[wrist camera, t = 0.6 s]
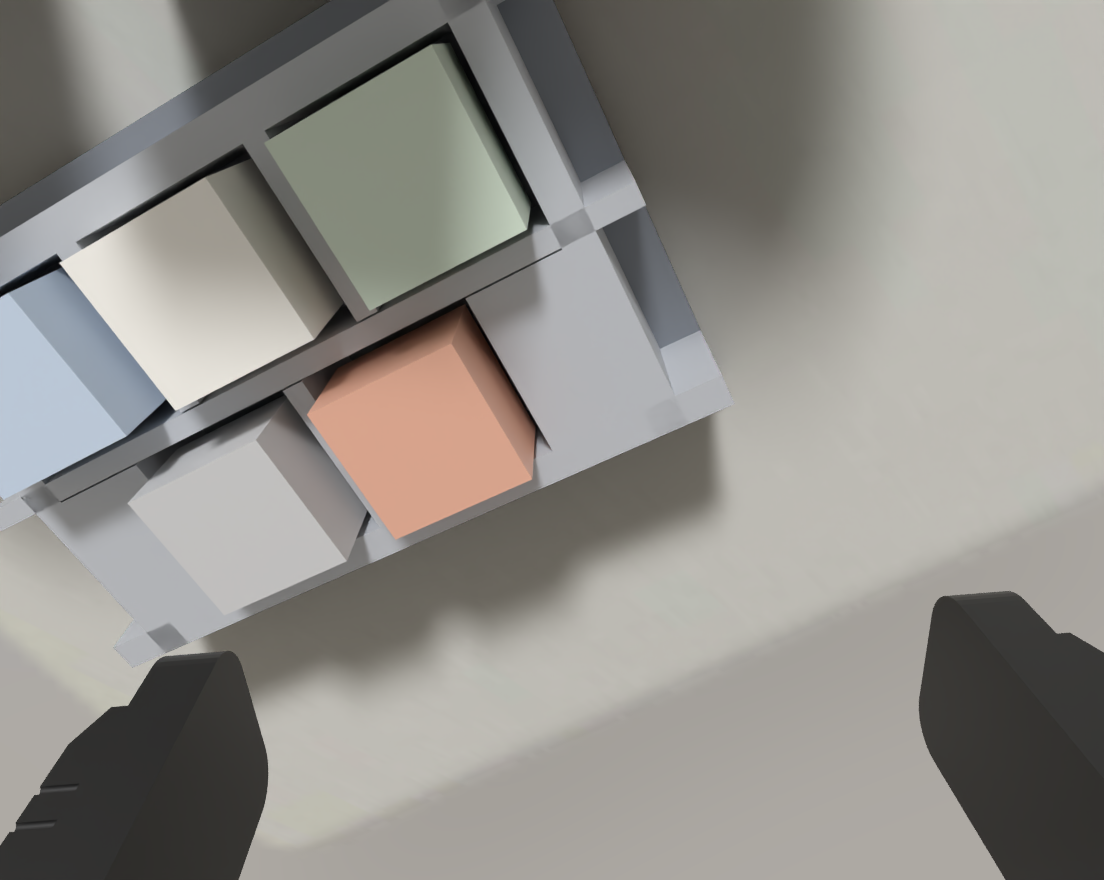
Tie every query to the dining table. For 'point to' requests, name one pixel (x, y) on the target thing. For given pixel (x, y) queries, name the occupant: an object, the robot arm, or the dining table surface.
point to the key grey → (252, 507)
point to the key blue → (62, 382)
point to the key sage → (404, 176)
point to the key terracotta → (427, 424)
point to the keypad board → (480, 283)
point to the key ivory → (208, 284)
